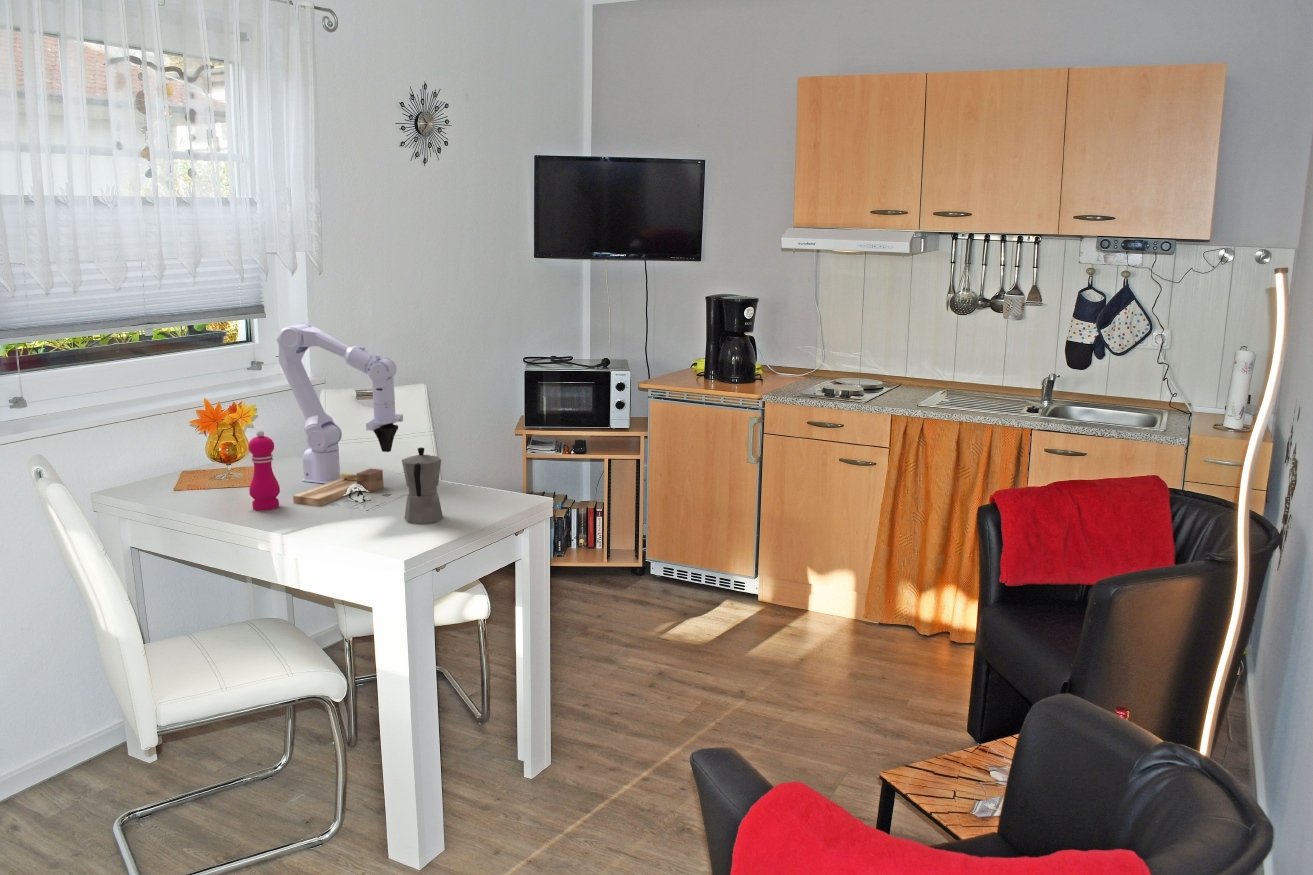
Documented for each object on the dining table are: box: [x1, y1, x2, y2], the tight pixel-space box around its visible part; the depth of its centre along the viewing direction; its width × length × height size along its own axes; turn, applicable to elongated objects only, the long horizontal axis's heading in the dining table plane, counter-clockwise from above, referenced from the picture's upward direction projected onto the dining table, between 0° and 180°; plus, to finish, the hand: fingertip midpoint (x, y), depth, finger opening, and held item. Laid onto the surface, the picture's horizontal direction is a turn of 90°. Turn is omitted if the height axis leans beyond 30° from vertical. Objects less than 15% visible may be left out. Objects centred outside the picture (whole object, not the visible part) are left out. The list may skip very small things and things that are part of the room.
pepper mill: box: [248, 429, 281, 512], centre depth 246 cm, size 7×7×20 cm
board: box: [292, 478, 357, 507], centre depth 261 cm, size 8×21×2 cm, turn 161°
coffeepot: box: [401, 447, 444, 525], centre depth 237 cm, size 15×9×18 cm, turn 6°
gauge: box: [340, 468, 384, 493], centre depth 267 cm, size 11×6×5 cm, turn 71°
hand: (386, 451), depth 272 cm, fingers closed
